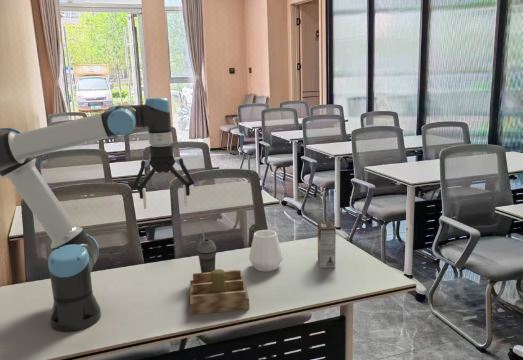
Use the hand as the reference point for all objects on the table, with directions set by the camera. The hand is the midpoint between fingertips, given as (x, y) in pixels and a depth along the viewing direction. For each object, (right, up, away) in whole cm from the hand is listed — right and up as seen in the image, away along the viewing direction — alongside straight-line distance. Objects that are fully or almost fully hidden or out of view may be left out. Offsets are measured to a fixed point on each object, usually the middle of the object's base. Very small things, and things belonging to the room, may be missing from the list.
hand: (165, 206), depth 167 cm
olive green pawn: (+19, -32, -4) cm, 37 cm away
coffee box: (+59, -24, +27) cm, 69 cm away
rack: (+18, -32, +1) cm, 37 cm away
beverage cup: (+13, -28, +17) cm, 35 cm away
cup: (+35, -25, +26) cm, 50 cm away
